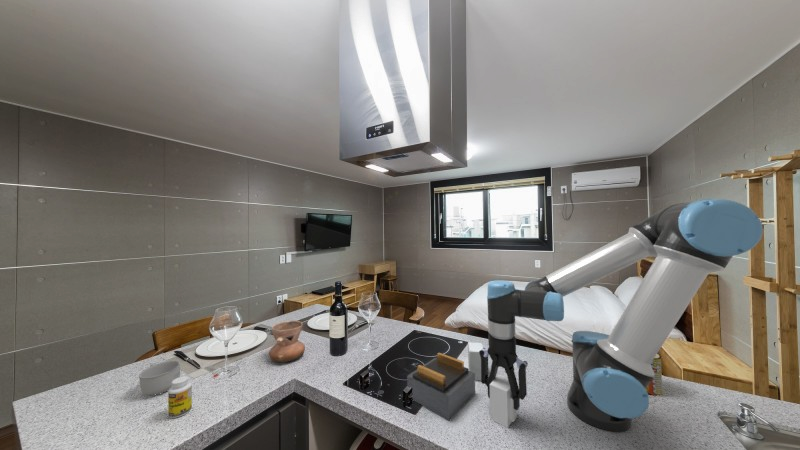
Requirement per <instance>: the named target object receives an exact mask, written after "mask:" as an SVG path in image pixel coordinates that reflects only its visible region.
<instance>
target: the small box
mask: <svg viewBox="0 0 800 450" xmlns="http://www.w3.org/2000/svg"><path fill="white" fill-rule="evenodd" d="M483 348H484V345H483V343H482V342H470V341H469V342H467V354H468V355H467V357H468V369H469V371H471V372H473V373H475V381H480V382H481V357H480V354H479V351H480V350H482V349H483Z"/></svg>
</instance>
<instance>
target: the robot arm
mask: <svg viewBox="0 0 800 450" xmlns="http://www.w3.org/2000/svg"><path fill="white" fill-rule="evenodd" d="M763 228H764V227H763V224H762V221H761V219H760V218H759V217H758V215H757V214H756V212H755V211H753V209H751V208H750V207H748V206H746V205H745V204H744V203H741V202H738V201H735V200H731V199H725V198H724V199H723V198H722V199H721V198H720V199H719V198H718V199H717V198H702V199H698V200H695V201H689V202H681V203H676V204H672V205H669V206H667V207H664V208H662V209H660V210H659V211H657V212H656V213H653V214H652V215H650V216H648V217H647V218H645V219H644V220H642V221H640V222H638V223H636V224H635V225H633V226H631V227H629V228H628V233H626V234H624V235H621V236H620V237H618V238H616V239H614V240H612V241H610V242H609V243H607V244H605V245H603V246H601V247H599V248H597V249H595V250H593V251H591V252H589V253H587V254H586V255H584V256H581V257H580V258H578V259H576V260H574V261H572V262H570V263H569V264H567V265H564V266H562V267H560V268H558V269H557V270H555V271H553V272H551V273H549V274H547V275H545V276H543V277H542V278H541V277H540V278H539V279H535V280H531V281H529V282H527V284H526V286H525V287H524V290H523V289H516V287H515V283H513V282H512V281H508V280H502V279H501V280H500V279H499V280H492V281H490V282H489V283H487V296H486V299H487V300H486V301H487V331H488V335H487V336H488V347H487V348H485V347H483V349H482V350H480V351H479V354H480V357H481V381H480V382H481V383H482V384H483V385H485V386H486V387H487V397H488V399H490V383H491V382H492V381H493V380H494V379H495V378H496V377H497V373H498V371H499V370H498V369H499V367H500V368H503V370H504V372H505V374H506V375H507V376H506V377H508V380H509V384H510V388H511V392H512V396H511V397H510V417H511V421H512V422H511V423H514V422H515V420H516V419H517V416H518V415H517V413H518V412H517V411H518V410H519V409H520V403H521V401H520V400H524V399H525V398H526V397H527V393H528V392H527V391H528V390H527V372H526V371H527V367H528V365H529V364H528V362H527V360H524V361H523V360H522V359H520V358H518V354H517V341H516V340H517V337H516V317H519V318H526V319H534V320H540V321H547V322H562V321H563V320H564V317H565V303H564V297H566V296H567V295H570V294H572V293H574V292H576V291H578V290H580V289H583V288H584V287H588V286H589V285H591V284H594V283H595V282H597V281H599V280H600V281H601V280H602V279H603V278H606V277H608V276H610V275H613V274H615V273H616V272H618V271H621V270H623V269H625V268H627V267H629V266H631V265H634V264H635V263H638V262H640V261H641V260H644V259H647V258H648V257H652V258H653V257H655V259H654V260H653V262H652V264H651V266H650V267H649V269H648V271H647V272H646V273H645V275H644V277H643V279H642V280H641V282H640V284H639V285H638V287H637V289H636V291H635V293H633V295H632V297H631V299H630V301H629V302H628V304H627V306H626V307H625V309H624V310H623V312H622V314H621V315H620V317H619V319H618V321H616V324H615V325H614V327H613V329H612V331H611V332H610V334H606V333H602V332H598V331H590V330H589V331H588V330H577V331H574V332H573V333H572V336H571V337H572V338H571V344H572V345H571V346H572V373H573V374H572V375H573V376H572V377H573V379H572V382H571V384H570V387H569V390H568V392H567V396H566V403H567V407H568V409H569V410H570V412H571V413H572V415H573V414H574V415H575V416H576V417H577V418H578V419H579V420H581V421H582V422H584V423H587V424H588V425H590V426H593V427H594V428H598V429H601V430H605V431H609V432H626V431H629V429H630V428H631V427H632V419H635V418H638V417H641V416H642V415H644V413H646V411H647V410H648V409H649V404H650V400H649V399H650V397H649V395H648V393H647V391H646V388H647V386H648V385H649V383H650V382H651V380H652V379H653V377H654V375H655V373H654V371H653V369H652V367H651V362H652V360H653V359H654V357H655V356H656V354H657V353H659V352H660V350H661V348H662V346H663V345H664V344H665V342H666V340H667V339H668V337H669V335H670V334H671V332H672V331H673V329H674V328H675V326H676V325H677V323H678V322H679V320H680V319H681V317H682V316H683V314H684V312H686V310H687V308H688V306H689V304H690V303H691V302H692V301H693V298H694V296H696V294H697V293H698V290H699V289H700V288H701V286H702V285H703V283H704V281H705V280H706V278H707V277H708V276H709V274H712V273H715V272H720V271H724V270H725V269H726V268H727V266H728V265H729V263H730V261H731V259H732V258H733V257H734V256H738V255H739V256H740V255H741V254H743V253H746V252H749V251H750V250H752V249H753V248H754V247H756V246H757V245H758V243H759V242H760V241H761V240H762V236H763ZM489 358H490V359H491V361H492V362H491V367H490V372H489ZM515 363H516V366H517V369H518V372H517V373H518V374H517V375H518V379H517V377H516V373H515V367H514V364H515ZM517 381H518V382H517ZM516 410H517V411H516Z"/></svg>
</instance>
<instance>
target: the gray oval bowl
mask: <svg viewBox="0 0 800 450" xmlns="http://www.w3.org/2000/svg"><path fill="white" fill-rule="evenodd" d="M179 377H181V362H180V360H175V359H174V360H173V359H172V360H167V361H162V362H159V363H157V362H154V363H151V364H150V365H149V366H148V367H147V368H145V369H144V370H142V371H141V372H140V373H138V379H139V388H140V390H141V393H143V395H145V396H146V395H148V396H152V395H154V396H156V395H155V394H159V395H161V394H160V393H162V394H164V393H163V392H165V393H166V391H167V392H168V391H169V389H170V388H171V387H172V381H173V380H175V379H176V378H179Z"/></svg>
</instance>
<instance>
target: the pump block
mask: <svg viewBox="0 0 800 450" xmlns="http://www.w3.org/2000/svg"><path fill="white" fill-rule="evenodd" d="M511 396H512V392H511V388H510V384H509V380H508V376H506V375H502V374H498V375H496V378H495V379H494V380H493V381H492V382H491V383H490V398H489V418H490V420H491V421H493V422H495V423H497V424H499V425H500V426H503V427H504V428H508V429H509V427H510V425H511V424H512V423H513V422H512V421H511V417H510V397H511ZM516 411H518V410H516Z"/></svg>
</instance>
